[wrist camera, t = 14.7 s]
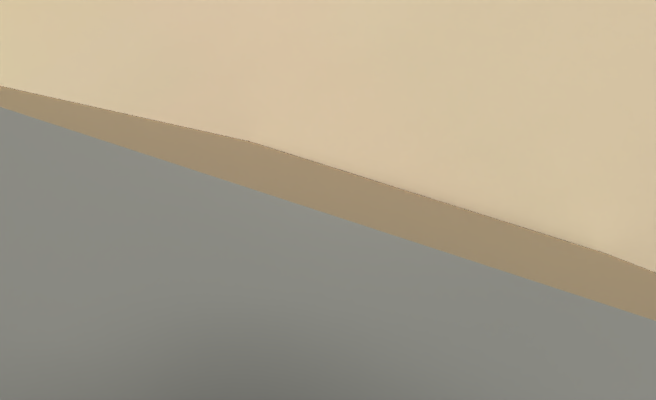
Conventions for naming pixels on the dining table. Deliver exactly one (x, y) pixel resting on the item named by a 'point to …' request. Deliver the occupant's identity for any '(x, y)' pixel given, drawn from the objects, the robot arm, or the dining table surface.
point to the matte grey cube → (283, 278)
